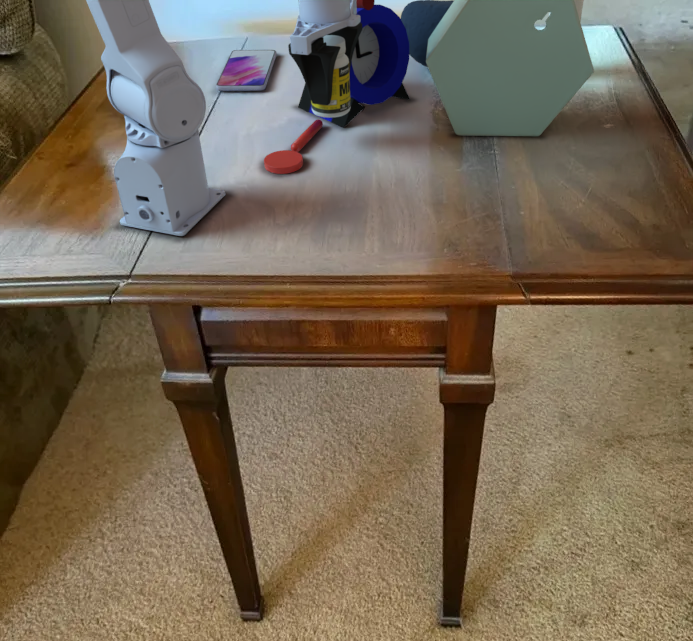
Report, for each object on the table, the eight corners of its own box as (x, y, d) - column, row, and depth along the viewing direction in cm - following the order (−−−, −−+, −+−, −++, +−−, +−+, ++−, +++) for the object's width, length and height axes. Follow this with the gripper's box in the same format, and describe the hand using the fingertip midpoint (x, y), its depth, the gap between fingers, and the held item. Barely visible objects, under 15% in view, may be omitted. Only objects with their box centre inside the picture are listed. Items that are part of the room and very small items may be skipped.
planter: (508, 143, 103) (618, 9, 91) (511, 170, 97) (629, 30, 85) (403, 75, 99) (504, -75, 87) (399, 98, 93) (507, -59, 81)
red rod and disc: (293, 176, 88) (292, 167, 88) (257, 171, 90) (256, 161, 89) (336, 128, 98) (336, 119, 97) (304, 124, 100) (303, 115, 99)
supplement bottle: (346, 119, 90) (343, 48, 85) (307, 118, 91) (302, 47, 86) (354, 103, 94) (351, 33, 88) (317, 101, 94) (312, 33, 89)
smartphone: (277, 49, 120) (264, 86, 108) (277, 54, 120) (265, 92, 109) (231, 49, 120) (214, 86, 108) (232, 55, 121) (214, 92, 109)
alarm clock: (347, 129, 98) (341, 8, 88) (288, 103, 105) (277, -12, 96) (414, 101, 104) (415, -15, 94) (354, 78, 111) (350, -32, 102)
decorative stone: (492, 75, 110) (498, 3, 104) (413, 86, 108) (414, 13, 102) (464, 48, 119) (468, -19, 113) (390, 58, 117) (390, -11, 111)
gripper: (331, -6, 76) (338, 123, 84) (379, -42, 86) (381, 75, 95) (267, -10, 78) (280, 116, 87) (322, -45, 89) (329, 70, 97)
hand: (329, 94), depth 91 cm, fingers closed on supplement bottle, 5 cm apart
